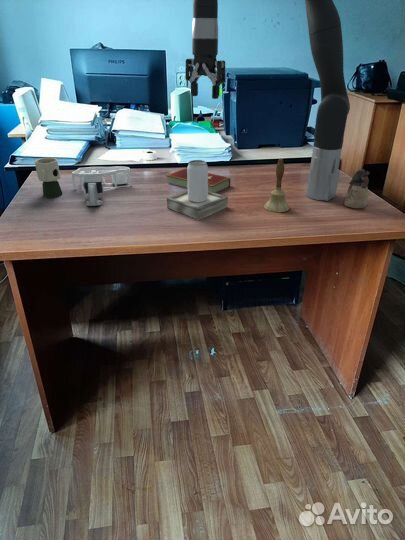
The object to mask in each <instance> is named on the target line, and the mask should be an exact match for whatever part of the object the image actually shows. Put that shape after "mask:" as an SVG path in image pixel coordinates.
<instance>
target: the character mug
mask: <svg viewBox="0 0 405 540" xmlns="http://www.w3.org/2000/svg"><path fill="white" fill-rule="evenodd" d="M34 164H35V170H36V173H37V179H38V181H39V182H42V195H43V197H44V198H46V199H56V198H59V197H61V196H62V194H63V191H62V187H61V185H60V183H59V181H58V180H60V179H61V173H60V167H59V161H58V159H57V158H56V157H42V158H38V159H35V160H34Z"/></svg>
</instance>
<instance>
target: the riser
mask: <svg viewBox="0 0 405 540" xmlns="http://www.w3.org/2000/svg"><path fill="white" fill-rule="evenodd" d="M228 198H229V197H228V196H227V195H223V194H219V193H217V192H216V193H213V192H210V191H208V199H207V200H206V201H205V202H200V203H195V202H191V201H189V199H188V189H187V190H185V191H182V192H179V193H176V194H173V195H171V196H169V197H166V208H168V209H171V210H172V211H175V212H178V213H180V214H182V215H185V216H187V215H188V216H187V217H190V216H191V217H190V218H192V217H193V218H192V219H195V218H196V219H195V220H197V219H200V220H202V219H204V217H205V218H206V216H207V217H209V216H211V215H214V214H216V213H218V212H220V211H223V210H224V209H226V208H228V204H229V203H228V200H229V199H228ZM213 213H214V214H213ZM208 215H209V216H208ZM201 218H202V219H201Z"/></svg>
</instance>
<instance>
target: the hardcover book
mask: <svg viewBox="0 0 405 540" xmlns="http://www.w3.org/2000/svg"><path fill="white" fill-rule="evenodd" d="M165 176H166V177H167V183H168V184H171V185H175V186H178V187H182V188H186V189H188V182H187V168H186V167H183V168H180V169H178V170H175V171H174V172H171V173H168V174H166V175H165ZM228 187H231V177H228V176H224V175H219V174H215V173H209V172H208V191H210V192H213V193H216V194H217V192H220V191H221V190H224V189H226V188H228Z"/></svg>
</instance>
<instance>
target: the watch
mask: <svg viewBox="0 0 405 540" xmlns="http://www.w3.org/2000/svg"><path fill="white" fill-rule="evenodd" d="M102 183H103V178H102V177H84V184H83V186H84V192H85V194H86V195H87V197H88V200H87V201H86V206H88V207H95V206H102V205H103V204H104V201H103V200H100V199H99V194H103V192H104V191H103V190H104V188H103V187H104V186H103V184H102Z"/></svg>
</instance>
